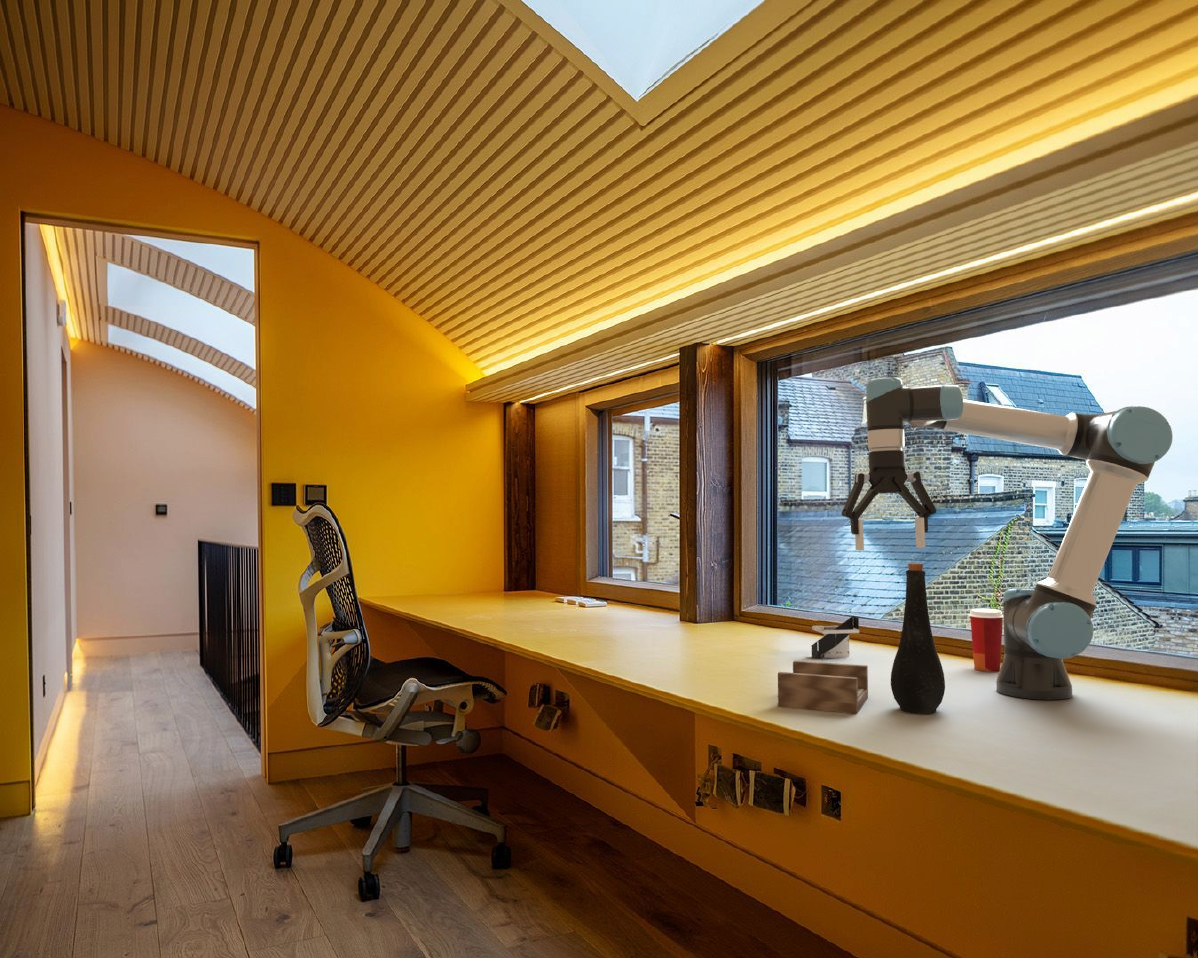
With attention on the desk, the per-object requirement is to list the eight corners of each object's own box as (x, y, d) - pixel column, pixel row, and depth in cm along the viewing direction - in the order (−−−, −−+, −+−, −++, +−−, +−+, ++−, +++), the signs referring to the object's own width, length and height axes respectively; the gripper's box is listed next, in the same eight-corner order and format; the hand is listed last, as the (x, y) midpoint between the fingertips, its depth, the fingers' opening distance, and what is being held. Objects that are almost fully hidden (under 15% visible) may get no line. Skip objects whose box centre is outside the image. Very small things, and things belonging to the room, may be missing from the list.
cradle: (868, 697, 193) (867, 665, 193) (856, 713, 178) (856, 678, 178) (794, 691, 199) (794, 660, 199) (778, 706, 185) (777, 673, 185)
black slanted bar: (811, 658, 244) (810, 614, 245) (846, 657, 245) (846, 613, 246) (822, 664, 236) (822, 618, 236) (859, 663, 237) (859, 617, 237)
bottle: (950, 717, 174) (947, 565, 175) (894, 715, 177) (891, 565, 177) (940, 705, 185) (938, 562, 186) (887, 703, 187) (885, 561, 188)
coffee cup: (1007, 668, 225) (1006, 609, 225) (1002, 673, 218) (1001, 612, 218) (972, 665, 230) (971, 607, 230) (966, 670, 223) (965, 610, 223)
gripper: (933, 450, 195) (937, 546, 194) (824, 452, 193) (827, 550, 192) (950, 447, 188) (954, 547, 187) (836, 450, 185) (840, 551, 184)
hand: (890, 549), depth 189 cm, fingers open, 13 cm apart
